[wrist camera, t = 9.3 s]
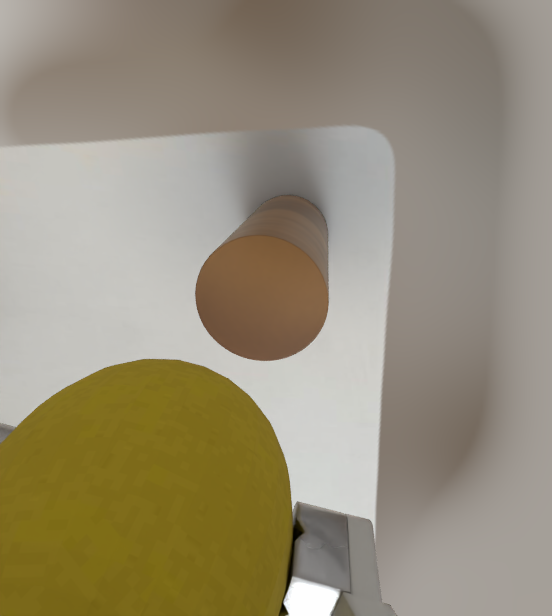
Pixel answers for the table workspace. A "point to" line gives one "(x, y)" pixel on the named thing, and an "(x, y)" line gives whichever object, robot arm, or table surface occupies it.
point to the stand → (268, 282)
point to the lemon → (145, 499)
